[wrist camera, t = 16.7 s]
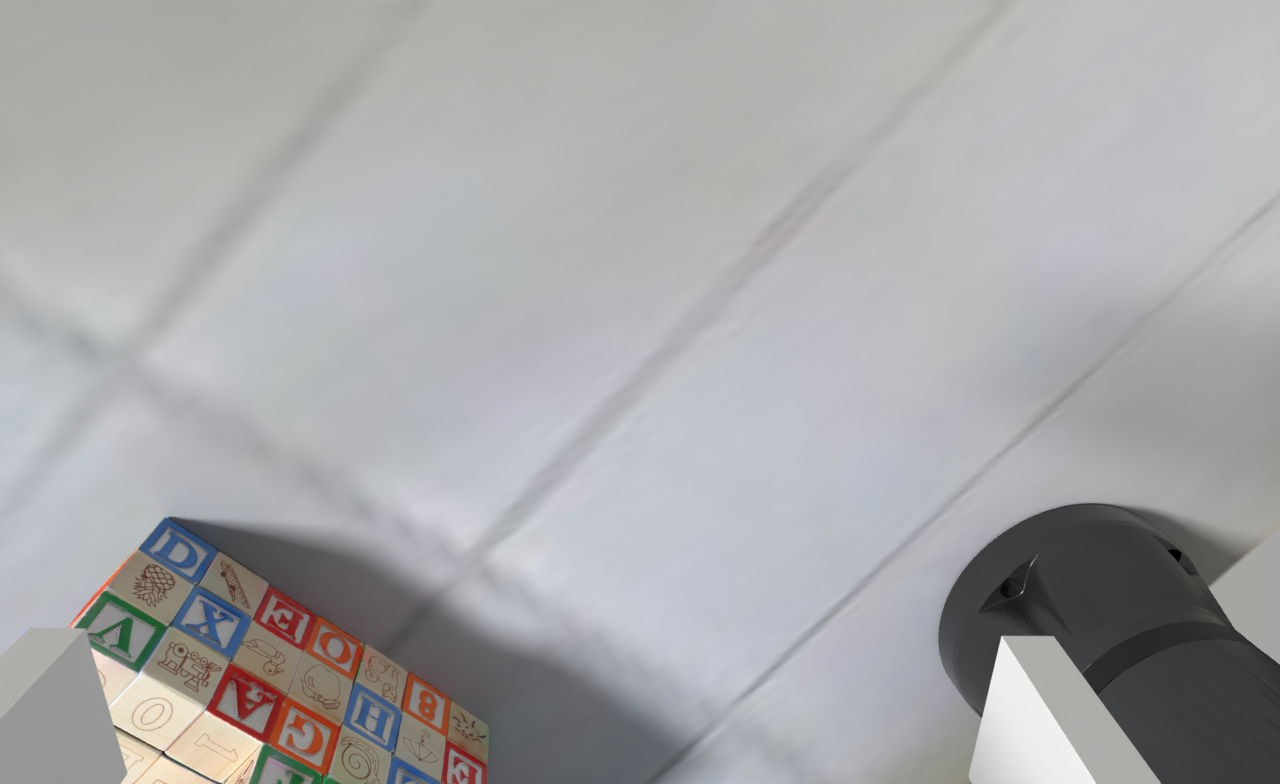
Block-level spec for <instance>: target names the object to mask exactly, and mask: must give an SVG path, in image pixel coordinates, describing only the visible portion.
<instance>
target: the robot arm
mask: <svg viewBox="0 0 1280 784" xmlns="http://www.w3.org/2000/svg"><path fill="white" fill-rule="evenodd" d="M939 651H940V656H941V660H942V663H943V666H944V668H945V671H946V672H947V674H948V676H949V678H950V679H951V681H952V682H953V684H954V685H955V686H956V688H957V689H958V691H959V692H960V694H961V695H962V696H963V698H964V699H965V701H966V702H967V703H968V705H969V706H970V707H971V708H972V709H973V710H974V711H975V712H976V713H977V714H978V715H979V716H980V717H981V718H982V721H981V725H980V729H979V734H978V738H977V742H976V746H975V750H974V755H973V759H972V763H971V767H970V772H969V776H968V777H969V779H970V781H971V784H1280V665H1279V664H1278V663H1277V662H1276V661H1274V660H1273V659H1272V658H1270V657H1269V656H1268V655H1267V654H1265V653H1264V652H1262V651H1261V650H1260V649H1258V648H1257V647H1256V646H1255V645H1253V644H1252V643H1251V642H1250V641H1248V640H1247V639H1246V638H1245V637H1244V636H1243V635H1241V634H1240V633H1239V632H1237V631H1236V630H1235V629H1234V627H1233V626H1232V624H1231V623H1230V621H1229V620H1228V618H1227V616H1226V615H1225V613H1224V612H1223V610H1222V609H1221V607H1220V605H1219V604H1218V602H1217V601H1216V599H1215V598H1214V596H1213V595H1212V593H1211V591H1210V590H1209V588H1208V587H1207V585H1206V584H1205V582H1204V581H1203V579H1202V578H1201V577H1200V576H1199V574H1198V572H1197V570H1196V568H1195V567H1194V565H1193V564H1192V562H1191V560H1190V559H1189V557H1188V556H1187V555H1186V553H1185V552H1184V551H1183V550H1182V549H1181V548H1180V547H1179V546H1178V545H1177V544H1176V543H1175V542H1174V541H1173V540H1172V539H1170V538H1169V537H1168V536H1166V535H1165V534H1164V533H1162V532H1161V531H1160V530H1158V529H1157V528H1155V527H1154V526H1153V525H1151V524H1150V523H1149V522H1147V521H1146V520H1144V519H1143V518H1141V517H1139V516H1138V515H1136V514H1134V513H1132V512H1129V511H1127V510H1124V509H1121V508H1117V507H1112V506H1106V505H1094V504H1086V505H1074V506H1067V507H1062V508H1058V509H1054V510H1050V511H1047V512H1044V513H1041V514H1039V515H1036V516H1034V517H1031V518H1029V519H1027V520H1025V521H1023V522H1021V523H1019V524H1017V525H1015V526H1014V527H1012V528H1010V529H1009V530H1007V531H1006V532H1004V533H1003V534H1001V535H1000V536H998V537H997V538H996V539H994V540H993V541H992V542H991V543H989V544H988V545H987V546H986V547H985V548H984V549H983V550H982V551H981V552H980V553H979V554H978V555H977V556H976V557H975V558H974V559H973V560H972V561H971V562H970V563H969V564H968V566H967V567H966V568H965V569H964V571H963V572H962V573H961V575H960V576H959V578H958V579H957V581H956V583H955V584H954V586H953V588H952V590H951V592H950V594H949V596H948V598H947V601H946V603H945V606H944V609H943V612H942V616H941V620H940V626H939ZM127 774H128V773H127V769H126V766H125V763H124V759H123V756H122V752H121V749H120V745H119V742H118V739H117V735H116V732H115V728H114V725H113V722H112V718H111V715H110V711H109V708H108V704H107V701H106V698H105V694H104V691H103V687H102V684H101V680H100V677H99V674H98V670H97V667H96V663H95V660H94V657H93V653H92V650H91V646H90V643H89V639H88V636H87V633H86V629H79V628H30V629H29V630H28V631H27V632H26V633H25V634H24V635H23V636H22V637H21V638H20V639H19V640H18V641H17V642H16V643H15V644H13V645H12V646H11V647H10V648H9V649H8V650H7V651H6V652H5V653H4V654H3V655H2V656H1V657H0V784H121V782H122V781H123V779H124V778H125V777H126V775H127Z"/></svg>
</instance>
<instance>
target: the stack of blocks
mask: <svg viewBox="0 0 1280 784" xmlns="http://www.w3.org/2000/svg"><path fill="white" fill-rule="evenodd" d="M68 628H79V629H86V633H87V636H88V639H89V643H90V646H91V650H92V653H93V657H94V660H95V663H96V667H97V670H98V674H99V677H100V680H101V684H102V687H103V691H104V694H105V698H106V701H107V704H108V708H109V711H110V715H111V718H112V722H113V725H114V728H115V732H116V735H117V739H118V742H119V745H120V749H121V752H122V756H123V759H124V763H125V766H126V769H127V773H128V774H127V775H126V777H125V778H124V779H123V781H122V782H121V784H486V783H487V767H486V765H487V764H488V753H489V725H488V724H486V723H485V722H483V721H482V720H480V719H478V718H477V717H475V716H474V715H472V714H471V713H469V712H468V711H466V710H465V709H463V708H462V707H460V706H459V705H457V704H456V703H454V702H453V701H451V700H450V698H449V697H447V696H446V695H444V694H443V693H441V692H440V691H438V690H437V689H435V688H433V687H432V686H430V685H429V684H427V683H426V682H424V681H423V680H421V679H420V678H418V677H417V676H415V675H414V674H412V673H410V672H408V671H407V670H406V669H404V668H403V667H401V666H400V665H399V664H397V663H396V662H394V661H392V660H391V659H389V658H388V657H386V656H385V655H383V654H382V653H380V652H378V651H377V650H375V649H374V648H372V647H371V646H369V645H367V644H362V643H360V642H359V641H358V640H357V639H355V638H353V637H351V636H350V635H348V634H346V633H345V632H343V631H342V630H341V629H339V628H337V627H336V626H334V625H333V624H331V623H329V622H328V621H326V620H325V619H323V618H322V617H319V616H316V615H315V614H314V613H312V612H311V611H309V610H307V609H306V608H305V607H303V606H302V605H300V604H299V603H297V602H295V601H294V600H292V599H291V598H289V597H287V596H286V595H284V594H283V593H281V592H280V591H278V590H277V589H275V588H273V587H270V586H269V583H268V582H267V581H265V580H264V579H262V578H261V577H259V576H257V575H256V574H254V573H253V572H251V571H250V570H248V569H246V568H245V567H243V566H242V565H240V564H239V563H237V562H236V561H234V560H233V559H231V558H230V557H228V556H226V555H225V554H223V553H221V552H219V551H217V550H216V549H215V548H214V547H212V546H211V545H209V544H208V543H206V542H204V541H203V540H201V539H200V538H198V537H197V536H195V535H193V534H192V533H190V532H188V531H187V530H185V529H184V528H182V527H181V526H179V525H177V524H176V523H174V522H173V521H171V520H169V519H168V518H163V519H162V520H161V521H160V523H159V524H158V525H157V526H156V527H155V528H154V529H153V530H152V531H151V532H150V534H149V535H148V536H147V537H146V538H145V539H144V540H143V541H142V542H141V543H140V545H139V546H138V547H137V548H136V549H135V550H134V551H133V552H132V554H131V555H130V556H129V557H128V558H127V559H126V560H125V561H123V563H122V564H121V565H120V566H119V567H118V568H117V569H116V570H115V571H114V572H113V574H112V575H111V576H110V577H109V578H108V579H107V580H106V581H105V583H104V584H103V585H102V586H101V587H100V588H99V590H98V591H97V592H96V593H95V594H94V596H93V597H92V598H91V599H90V600H89V601H88V603H87V604H86V605H85V606H84V608H83V609H82V610H81V611H80V613H79V614H78V615H77V617H76V618H75V619H74V620H73V622H72V623H71V624H70V626H69V627H68Z"/></svg>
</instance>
